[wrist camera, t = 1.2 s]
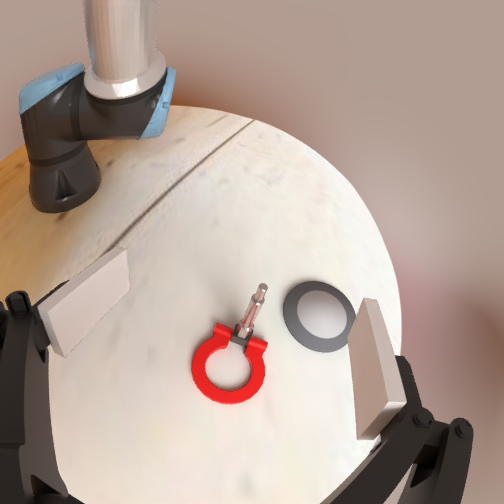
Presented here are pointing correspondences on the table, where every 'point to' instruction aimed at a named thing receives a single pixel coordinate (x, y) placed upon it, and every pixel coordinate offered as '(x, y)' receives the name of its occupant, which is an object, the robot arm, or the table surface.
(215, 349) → the tow hook
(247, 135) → the table surface
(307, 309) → the plate
